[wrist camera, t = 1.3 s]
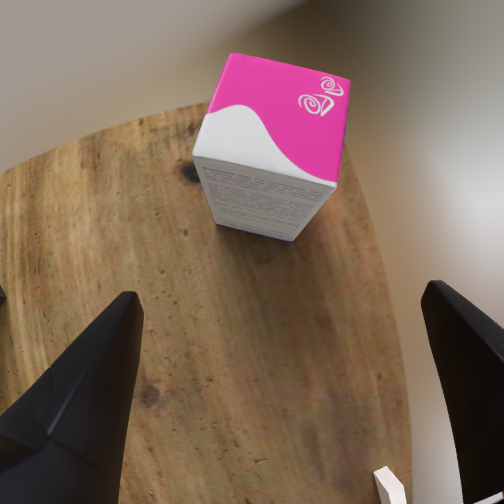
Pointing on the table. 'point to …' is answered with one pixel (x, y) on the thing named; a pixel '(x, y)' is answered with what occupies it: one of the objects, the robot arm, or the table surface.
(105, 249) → the table surface
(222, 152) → the supplement box
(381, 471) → the eraser
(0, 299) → the black rubber pad
